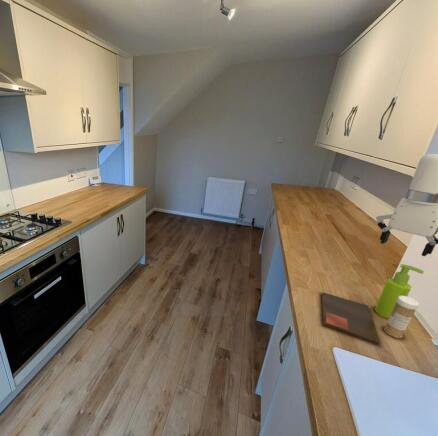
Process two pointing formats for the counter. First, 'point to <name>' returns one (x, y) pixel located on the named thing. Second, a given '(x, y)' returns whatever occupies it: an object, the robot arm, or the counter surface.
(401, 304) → the sprinkles bottle
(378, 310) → the soap dispenser
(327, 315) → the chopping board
